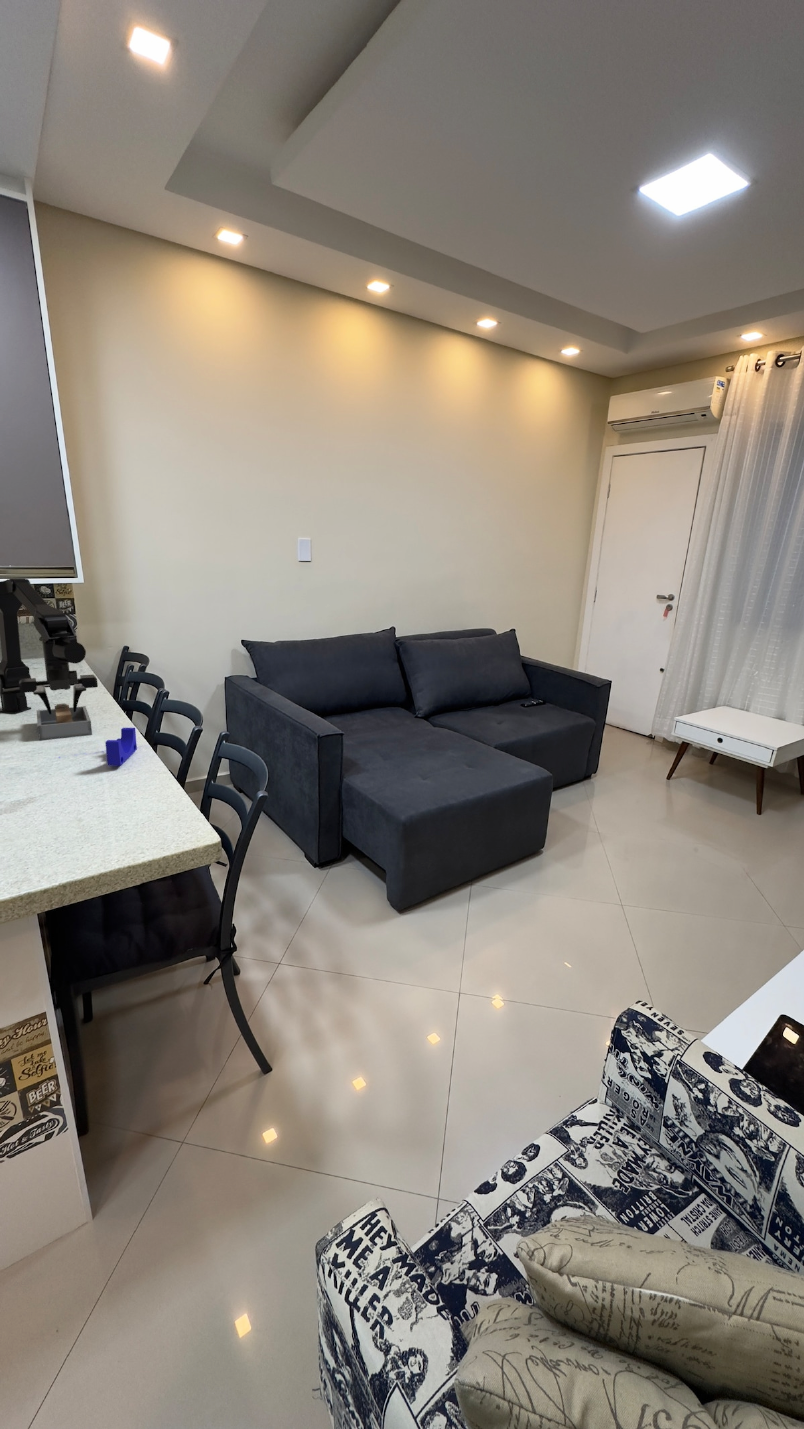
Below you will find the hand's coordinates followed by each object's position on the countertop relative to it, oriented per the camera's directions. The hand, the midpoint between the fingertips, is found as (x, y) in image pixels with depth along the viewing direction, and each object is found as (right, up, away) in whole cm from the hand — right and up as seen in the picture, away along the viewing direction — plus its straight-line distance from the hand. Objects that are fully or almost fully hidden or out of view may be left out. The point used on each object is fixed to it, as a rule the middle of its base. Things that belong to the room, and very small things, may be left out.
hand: (62, 712), depth 166 cm
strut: (0, -4, +1) cm, 4 cm away
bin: (0, -5, +1) cm, 5 cm away
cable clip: (+25, -11, -18) cm, 33 cm away
